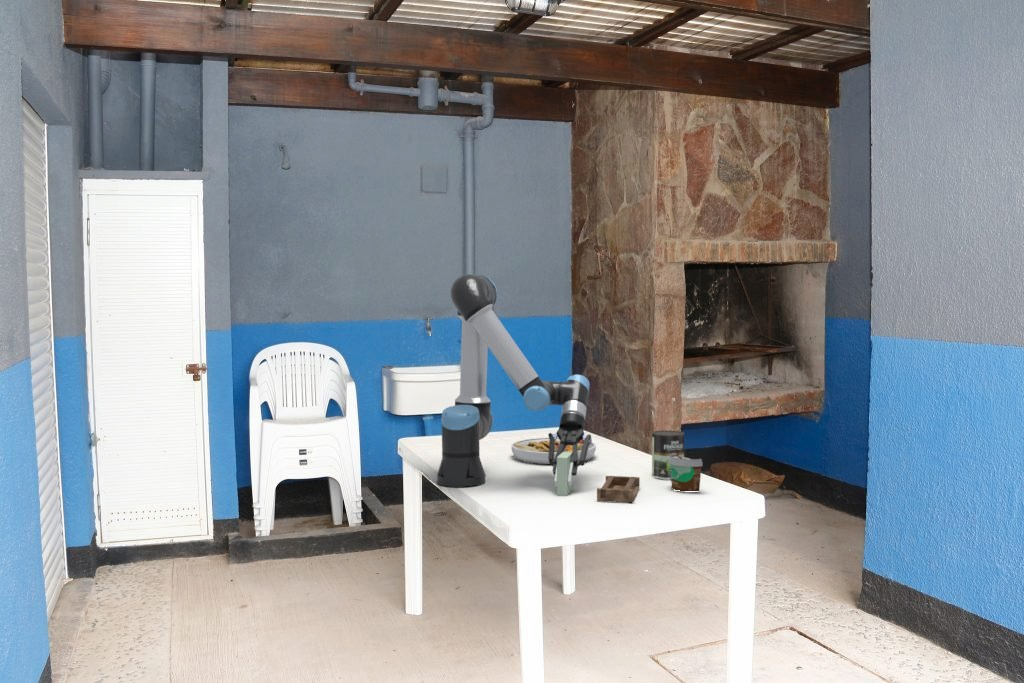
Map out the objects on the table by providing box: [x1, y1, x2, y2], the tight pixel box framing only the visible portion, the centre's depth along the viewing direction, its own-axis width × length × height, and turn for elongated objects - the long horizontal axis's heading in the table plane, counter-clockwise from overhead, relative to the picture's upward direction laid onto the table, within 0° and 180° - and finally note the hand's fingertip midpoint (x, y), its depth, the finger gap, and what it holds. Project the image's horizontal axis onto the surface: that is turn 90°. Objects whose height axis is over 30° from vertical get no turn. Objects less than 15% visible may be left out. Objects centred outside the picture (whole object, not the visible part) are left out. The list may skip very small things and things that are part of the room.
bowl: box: [511, 437, 597, 465], centre depth 304 cm, size 30×30×8 cm
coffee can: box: [651, 429, 686, 480], centre depth 271 cm, size 10×10×14 cm
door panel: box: [556, 451, 574, 496], centre depth 252 cm, size 3×10×11 cm, turn 165°
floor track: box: [596, 475, 641, 503], centre depth 247 cm, size 10×18×4 cm, turn 165°
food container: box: [668, 453, 704, 492], centre depth 252 cm, size 12×6×10 cm, turn 29°
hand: (562, 483), depth 248 cm, fingers closed on door panel, 3 cm apart
